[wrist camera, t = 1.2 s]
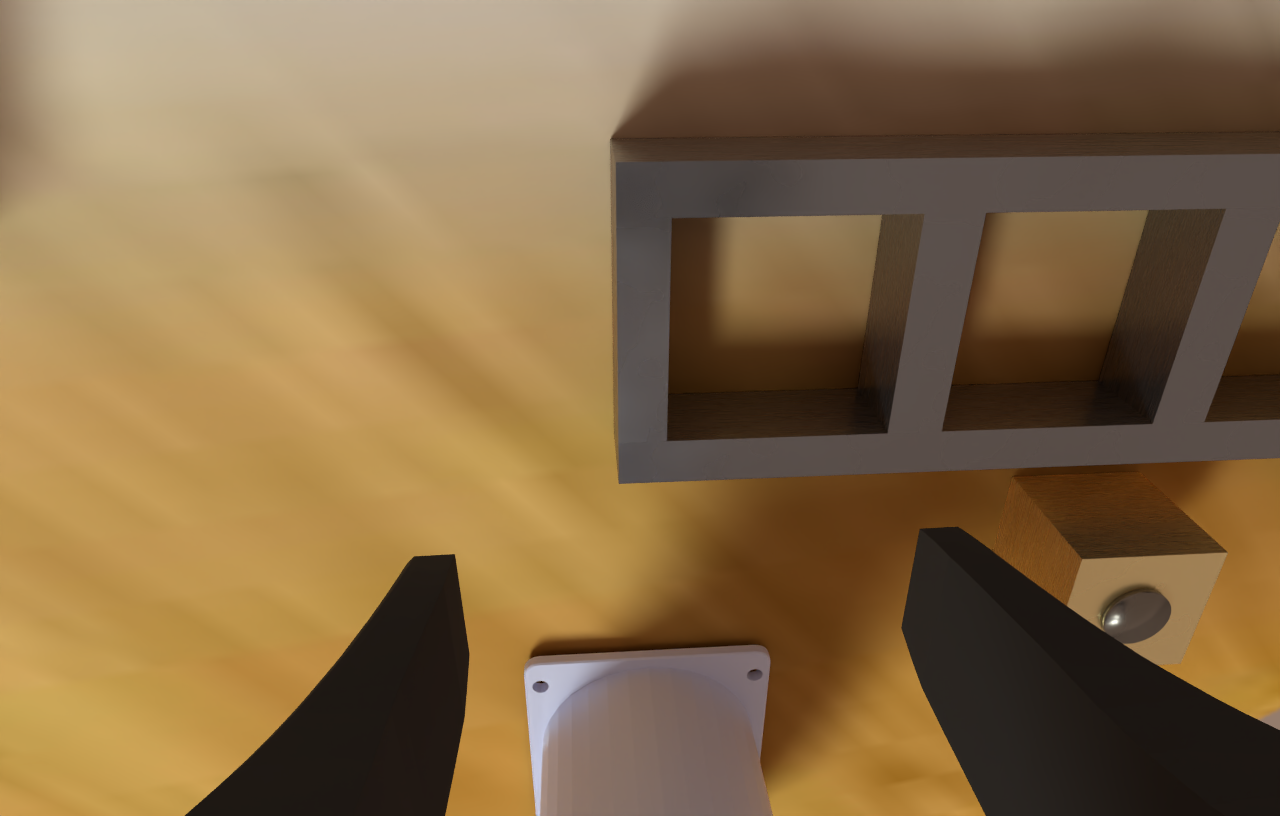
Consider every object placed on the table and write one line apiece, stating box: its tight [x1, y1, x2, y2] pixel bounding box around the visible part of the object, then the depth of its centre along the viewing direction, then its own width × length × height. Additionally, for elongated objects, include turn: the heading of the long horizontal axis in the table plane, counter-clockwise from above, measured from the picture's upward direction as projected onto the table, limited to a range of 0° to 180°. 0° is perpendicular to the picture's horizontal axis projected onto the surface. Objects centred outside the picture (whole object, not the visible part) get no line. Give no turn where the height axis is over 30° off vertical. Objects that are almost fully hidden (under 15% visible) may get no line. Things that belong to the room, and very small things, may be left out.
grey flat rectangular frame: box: [610, 132, 1280, 484], centre depth 21 cm, size 8×22×2 cm, turn 90°
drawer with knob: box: [993, 472, 1228, 665], centre depth 25 cm, size 4×4×4 cm
